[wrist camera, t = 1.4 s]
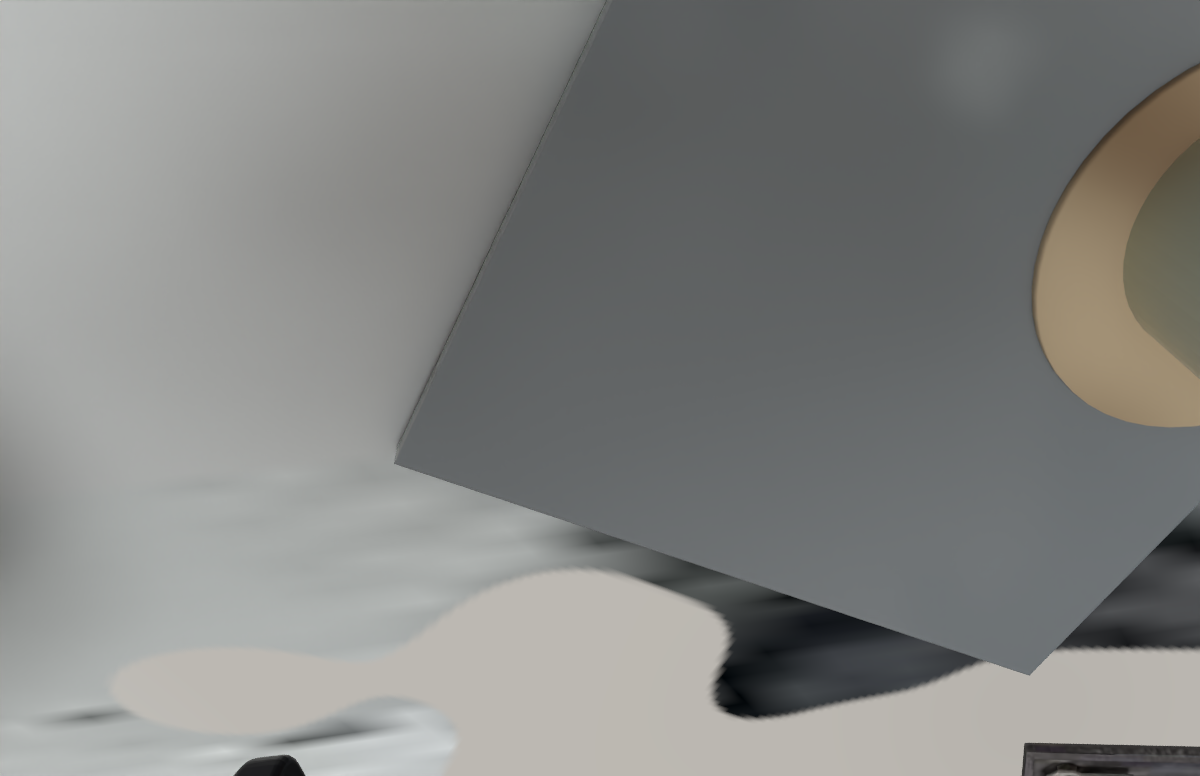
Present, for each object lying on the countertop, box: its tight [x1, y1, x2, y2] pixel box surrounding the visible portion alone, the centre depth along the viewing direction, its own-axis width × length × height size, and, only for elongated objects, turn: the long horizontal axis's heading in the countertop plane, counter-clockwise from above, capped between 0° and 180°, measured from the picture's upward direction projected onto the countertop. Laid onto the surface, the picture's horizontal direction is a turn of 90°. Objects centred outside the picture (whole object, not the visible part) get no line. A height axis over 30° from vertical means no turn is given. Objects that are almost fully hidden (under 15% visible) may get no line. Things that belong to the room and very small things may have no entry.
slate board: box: [394, 0, 1200, 675], centre depth 20 cm, size 24×19×1 cm
